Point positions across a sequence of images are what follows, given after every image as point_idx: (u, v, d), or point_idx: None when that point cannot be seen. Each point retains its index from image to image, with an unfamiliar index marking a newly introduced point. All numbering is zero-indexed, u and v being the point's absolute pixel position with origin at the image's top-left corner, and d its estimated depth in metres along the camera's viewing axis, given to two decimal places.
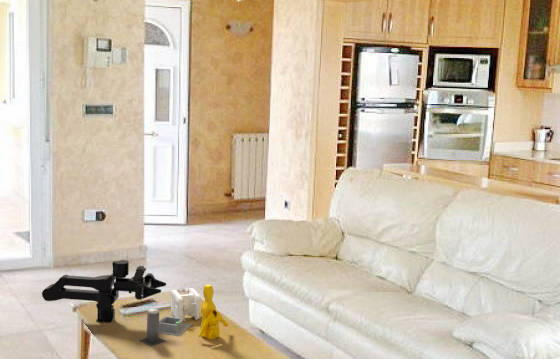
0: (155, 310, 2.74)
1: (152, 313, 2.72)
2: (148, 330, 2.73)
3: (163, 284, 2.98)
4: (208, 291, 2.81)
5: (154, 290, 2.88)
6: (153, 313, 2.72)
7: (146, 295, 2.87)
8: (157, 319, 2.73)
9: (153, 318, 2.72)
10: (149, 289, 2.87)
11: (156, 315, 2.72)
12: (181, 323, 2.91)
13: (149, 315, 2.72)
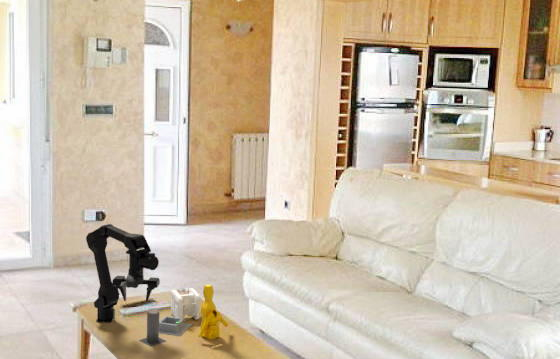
0: (155, 310, 2.74)
1: (152, 313, 2.72)
2: (148, 330, 2.73)
3: None
4: (208, 291, 2.81)
5: None
6: (153, 313, 2.72)
7: None
8: (157, 319, 2.73)
9: (153, 318, 2.72)
10: None
11: (156, 315, 2.72)
12: (181, 323, 2.91)
13: (149, 315, 2.72)
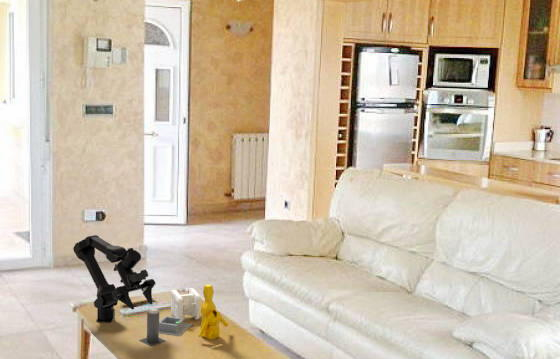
0: (155, 310, 2.74)
1: (152, 313, 2.72)
2: (148, 330, 2.73)
3: (150, 301, 2.82)
4: (208, 291, 2.81)
5: (129, 303, 2.75)
6: (153, 313, 2.72)
7: (121, 299, 2.77)
8: (157, 319, 2.73)
9: (153, 318, 2.72)
10: (126, 298, 2.75)
11: (156, 315, 2.72)
12: (181, 323, 2.91)
13: (149, 315, 2.72)
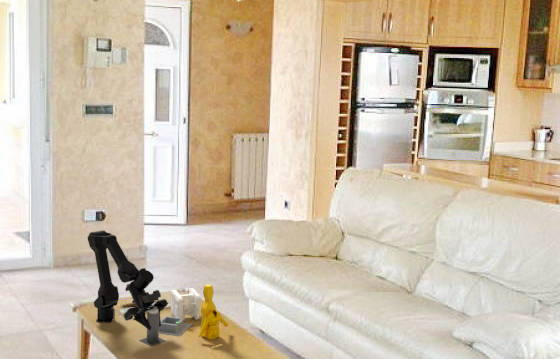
0: (155, 310, 2.74)
1: (152, 313, 2.72)
2: (148, 330, 2.73)
3: None
4: (208, 291, 2.81)
5: (145, 323, 2.72)
6: (153, 313, 2.72)
7: (138, 320, 2.74)
8: (157, 319, 2.73)
9: (153, 318, 2.72)
10: (143, 319, 2.72)
11: (156, 315, 2.72)
12: (181, 323, 2.91)
13: (149, 315, 2.72)
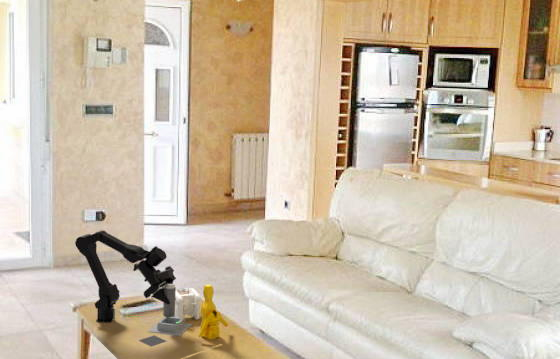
0: (172, 285, 2.85)
1: (171, 288, 2.83)
2: (166, 305, 2.83)
3: None
4: (208, 291, 2.81)
5: (164, 299, 2.82)
6: (171, 288, 2.83)
7: (155, 296, 2.82)
8: None
9: (171, 293, 2.83)
10: (162, 294, 2.82)
11: (174, 290, 2.84)
12: (181, 323, 2.91)
13: (168, 290, 2.82)
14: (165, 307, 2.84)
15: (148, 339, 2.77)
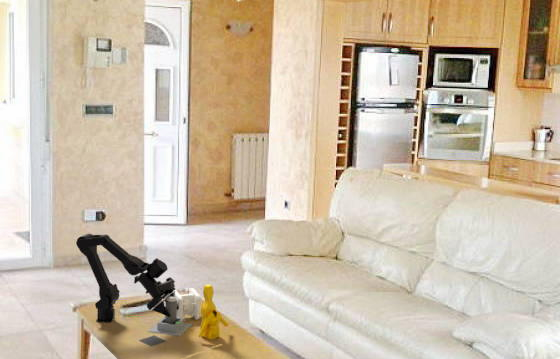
0: (173, 298, 2.89)
1: (172, 301, 2.87)
2: (169, 318, 2.87)
3: None
4: (208, 291, 2.81)
5: (165, 311, 2.84)
6: (173, 301, 2.87)
7: (156, 309, 2.84)
8: (176, 306, 2.89)
9: (173, 306, 2.87)
10: (162, 307, 2.83)
11: (176, 302, 2.88)
12: (181, 323, 2.91)
13: (170, 303, 2.86)
14: (167, 320, 2.88)
15: (148, 339, 2.77)
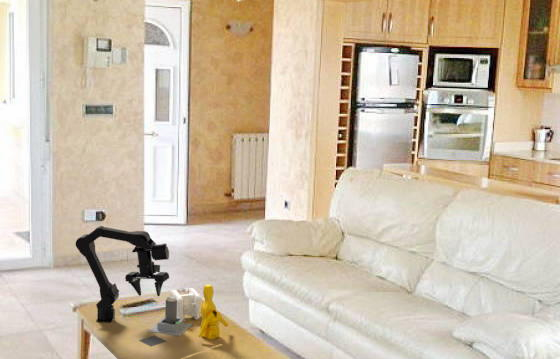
0: (173, 298, 2.89)
1: (173, 301, 2.87)
2: (169, 317, 2.87)
3: (140, 293, 2.96)
4: (208, 291, 2.81)
5: (160, 290, 2.92)
6: (173, 300, 2.87)
7: (158, 284, 2.90)
8: (176, 306, 2.89)
9: (173, 305, 2.87)
10: (161, 285, 2.92)
11: (176, 302, 2.88)
12: (181, 323, 2.91)
13: (170, 303, 2.86)
14: (167, 320, 2.88)
15: (148, 339, 2.77)
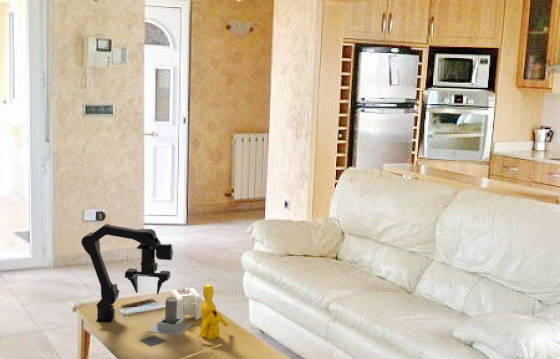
0: (173, 298, 2.89)
1: (173, 301, 2.87)
2: (169, 318, 2.87)
3: (137, 290, 2.95)
4: (208, 291, 2.81)
5: None
6: (173, 301, 2.87)
7: None
8: (176, 306, 2.89)
9: (173, 306, 2.87)
10: (161, 283, 2.95)
11: (176, 302, 2.88)
12: (181, 323, 2.91)
13: (170, 303, 2.86)
14: (167, 320, 2.88)
15: (148, 339, 2.77)
